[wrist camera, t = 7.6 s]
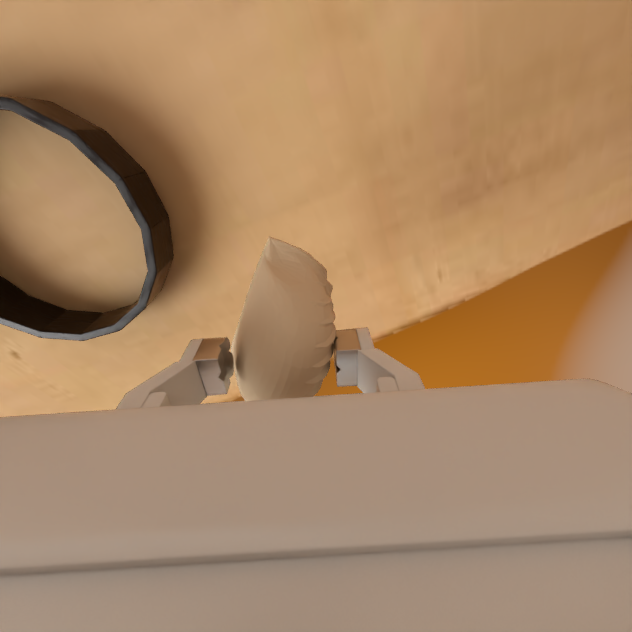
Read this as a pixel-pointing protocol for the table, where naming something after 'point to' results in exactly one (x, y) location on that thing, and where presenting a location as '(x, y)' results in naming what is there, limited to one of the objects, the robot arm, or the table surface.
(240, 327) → the decorative ornament
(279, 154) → the table surface
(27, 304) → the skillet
